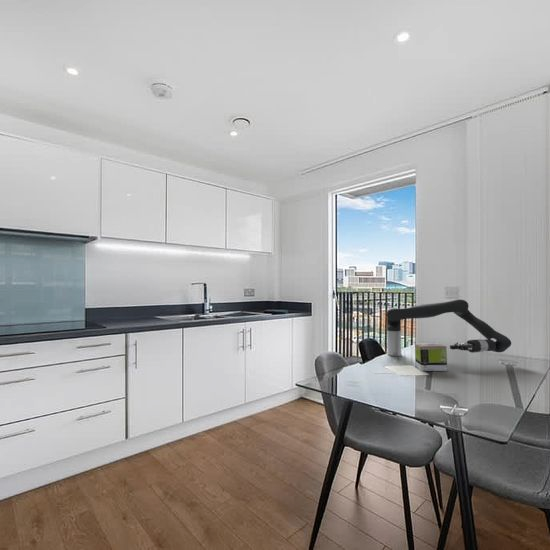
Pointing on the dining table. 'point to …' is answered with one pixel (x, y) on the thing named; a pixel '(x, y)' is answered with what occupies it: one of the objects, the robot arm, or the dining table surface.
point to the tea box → (431, 356)
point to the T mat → (407, 370)
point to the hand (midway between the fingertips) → (450, 347)
